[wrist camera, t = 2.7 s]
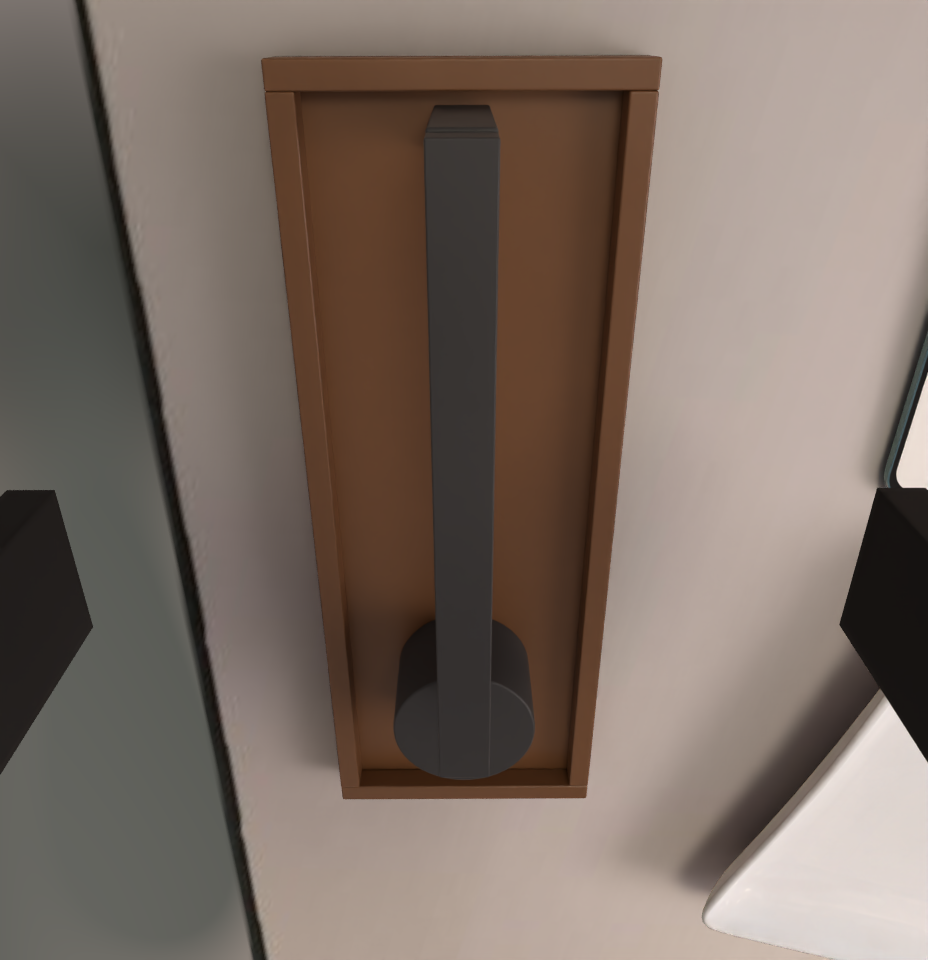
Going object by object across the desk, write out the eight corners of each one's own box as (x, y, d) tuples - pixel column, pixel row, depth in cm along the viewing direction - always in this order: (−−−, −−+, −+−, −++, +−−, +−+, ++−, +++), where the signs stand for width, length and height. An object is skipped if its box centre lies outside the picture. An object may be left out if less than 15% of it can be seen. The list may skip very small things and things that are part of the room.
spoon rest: (272, 56, 23) (260, 58, 21) (650, 55, 23) (663, 56, 21) (346, 770, 37) (342, 799, 35) (581, 769, 37) (586, 799, 35)
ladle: (525, 711, 34) (540, 860, 28) (402, 711, 34) (389, 861, 28) (554, 104, 23) (588, 131, 17) (369, 104, 23) (335, 133, 17)
